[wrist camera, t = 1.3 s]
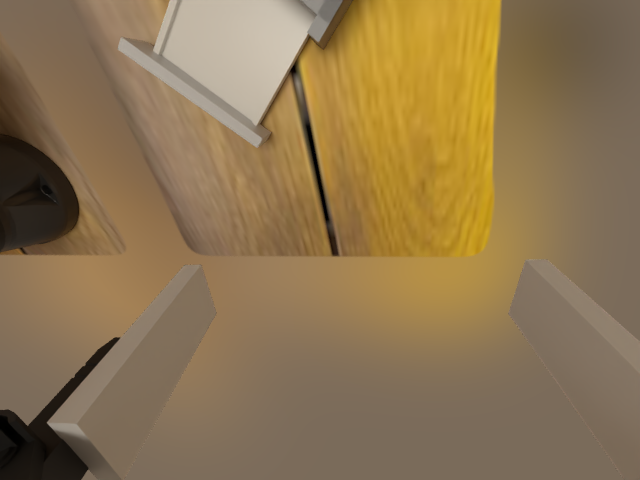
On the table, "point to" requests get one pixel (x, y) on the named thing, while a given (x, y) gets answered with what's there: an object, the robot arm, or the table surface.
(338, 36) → the table surface
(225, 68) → the tray
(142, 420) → the robot arm
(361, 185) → the table surface
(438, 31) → the table surface
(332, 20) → the tray
